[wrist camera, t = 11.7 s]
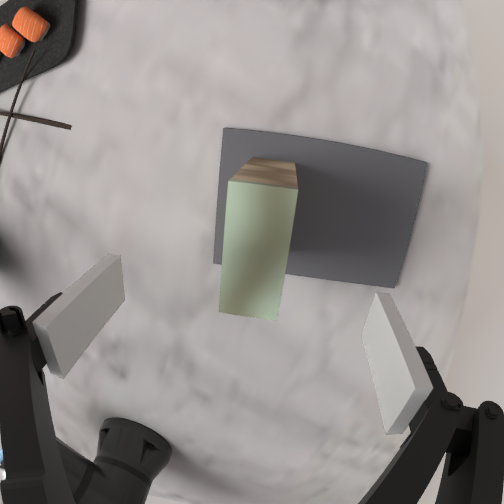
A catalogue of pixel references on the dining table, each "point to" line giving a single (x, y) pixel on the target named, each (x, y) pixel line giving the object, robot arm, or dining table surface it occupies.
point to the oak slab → (257, 237)
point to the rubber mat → (334, 204)
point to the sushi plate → (33, 44)
